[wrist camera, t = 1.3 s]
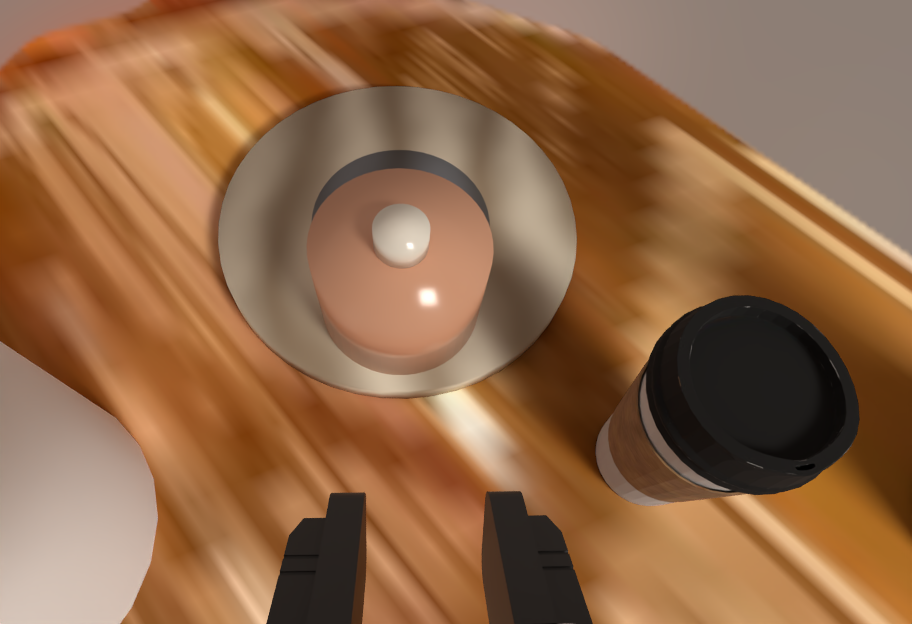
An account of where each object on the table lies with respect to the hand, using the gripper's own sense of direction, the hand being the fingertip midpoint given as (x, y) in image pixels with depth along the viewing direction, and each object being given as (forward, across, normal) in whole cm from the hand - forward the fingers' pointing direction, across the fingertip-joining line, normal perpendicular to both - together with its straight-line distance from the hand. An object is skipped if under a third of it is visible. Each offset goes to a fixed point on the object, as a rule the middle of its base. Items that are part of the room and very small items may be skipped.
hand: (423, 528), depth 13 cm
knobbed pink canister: (+27, +1, +4) cm, 28 cm away
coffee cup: (+22, -14, +12) cm, 29 cm away
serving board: (+33, +1, +1) cm, 33 cm away
